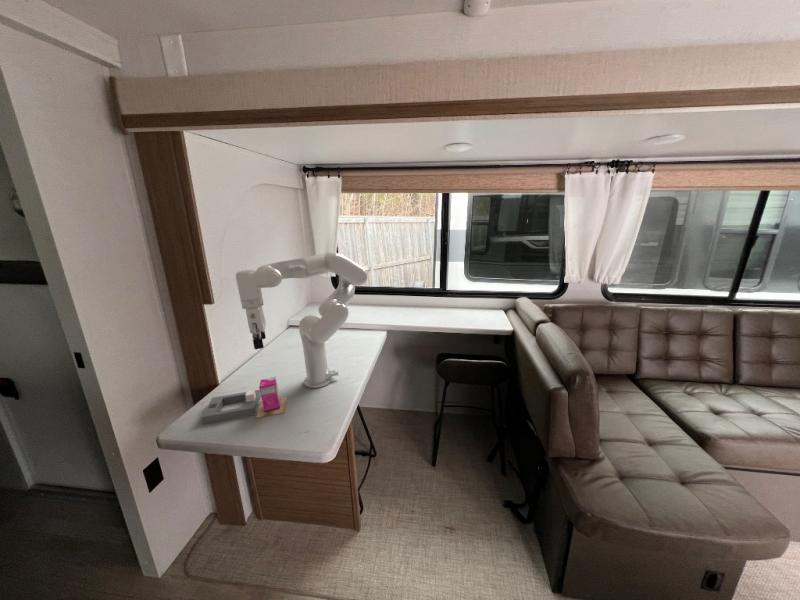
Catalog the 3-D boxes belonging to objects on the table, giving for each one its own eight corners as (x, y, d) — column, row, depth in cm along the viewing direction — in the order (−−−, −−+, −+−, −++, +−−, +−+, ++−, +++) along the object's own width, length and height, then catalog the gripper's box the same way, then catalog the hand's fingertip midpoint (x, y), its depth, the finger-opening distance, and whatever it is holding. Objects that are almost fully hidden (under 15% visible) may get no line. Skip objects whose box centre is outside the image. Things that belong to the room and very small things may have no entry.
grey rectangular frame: (260, 395, 126) (258, 383, 125) (255, 414, 114) (252, 401, 113) (213, 403, 122) (210, 391, 120) (202, 424, 110) (199, 410, 108)
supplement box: (265, 404, 119) (260, 379, 116) (280, 400, 121) (276, 376, 118) (263, 412, 114) (258, 386, 111) (279, 409, 116) (275, 383, 113)
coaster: (286, 398, 124) (286, 397, 124) (284, 412, 115) (284, 411, 114) (261, 402, 121) (260, 401, 121) (256, 418, 112) (256, 416, 112)
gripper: (260, 307, 105) (269, 350, 110) (264, 295, 121) (272, 334, 126) (237, 310, 103) (247, 354, 108) (244, 298, 119) (252, 337, 124)
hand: (260, 343), depth 117 cm, fingers open, 9 cm apart
